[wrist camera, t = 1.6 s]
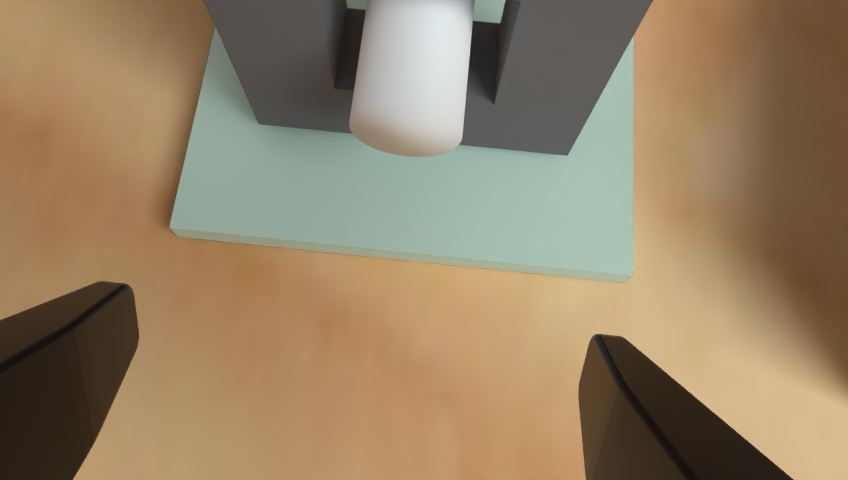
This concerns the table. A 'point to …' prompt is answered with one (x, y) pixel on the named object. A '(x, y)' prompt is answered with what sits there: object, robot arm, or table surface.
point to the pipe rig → (412, 163)
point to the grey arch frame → (487, 75)
